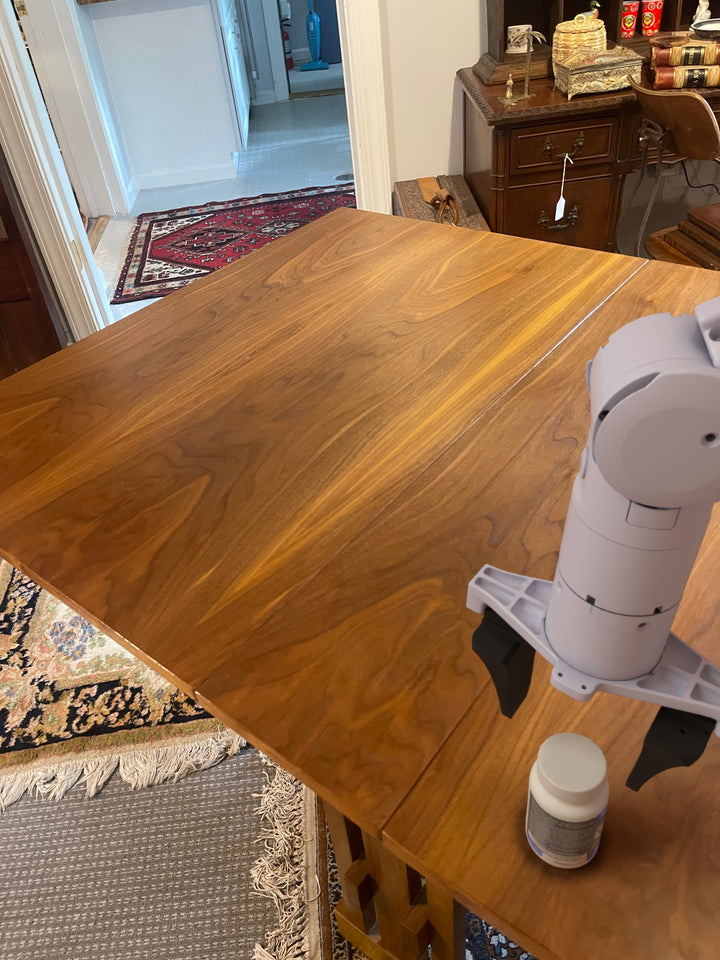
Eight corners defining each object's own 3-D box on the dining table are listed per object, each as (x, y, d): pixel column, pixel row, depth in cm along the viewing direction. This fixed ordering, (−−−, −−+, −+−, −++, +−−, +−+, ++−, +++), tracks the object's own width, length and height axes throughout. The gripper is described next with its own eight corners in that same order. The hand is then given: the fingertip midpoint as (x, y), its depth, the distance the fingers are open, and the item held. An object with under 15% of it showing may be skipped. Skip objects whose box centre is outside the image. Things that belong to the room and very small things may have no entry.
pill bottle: (607, 870, 46) (624, 797, 41) (531, 871, 46) (539, 800, 41) (589, 798, 50) (603, 724, 45) (519, 800, 50) (525, 727, 45)
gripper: (442, 554, 35) (430, 721, 44) (762, 709, 28) (675, 873, 37) (512, 482, 40) (489, 646, 48) (804, 600, 33) (717, 769, 41)
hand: (573, 738), depth 43 cm, fingers open, 7 cm apart
